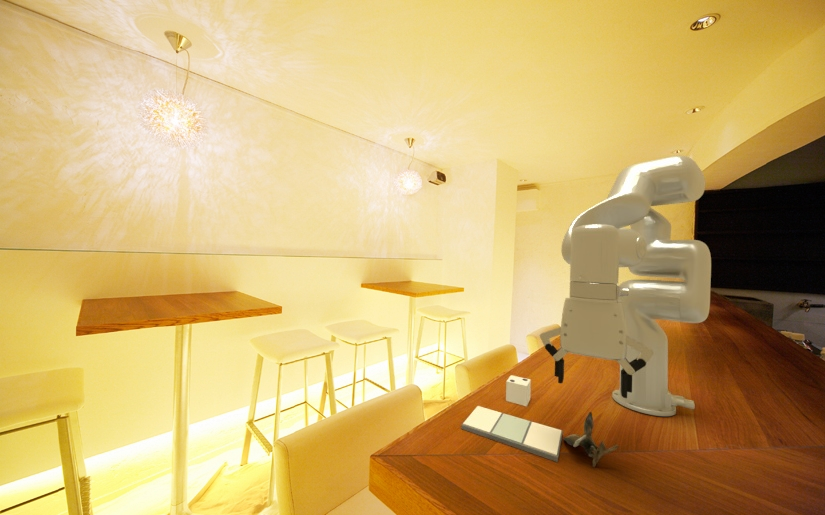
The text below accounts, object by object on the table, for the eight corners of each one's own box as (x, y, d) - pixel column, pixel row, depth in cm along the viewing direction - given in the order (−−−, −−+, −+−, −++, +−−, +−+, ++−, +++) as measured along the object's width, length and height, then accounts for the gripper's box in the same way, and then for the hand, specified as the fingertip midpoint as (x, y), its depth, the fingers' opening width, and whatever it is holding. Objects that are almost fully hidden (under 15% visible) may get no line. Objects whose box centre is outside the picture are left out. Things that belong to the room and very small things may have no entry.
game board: (562, 434, 59) (562, 429, 59) (557, 462, 51) (557, 456, 51) (477, 409, 69) (477, 404, 69) (461, 428, 60) (461, 423, 60)
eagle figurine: (630, 464, 49) (600, 425, 58) (610, 431, 48) (583, 397, 57) (588, 482, 50) (565, 441, 59) (568, 450, 49) (548, 414, 58)
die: (530, 398, 75) (530, 379, 75) (526, 406, 71) (527, 385, 71) (510, 393, 78) (510, 374, 78) (505, 401, 73) (506, 380, 74)
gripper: (650, 296, 51) (648, 393, 51) (544, 288, 61) (541, 371, 60) (658, 298, 45) (656, 410, 44) (538, 289, 54) (535, 382, 53)
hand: (590, 387), depth 52 cm, fingers open, 9 cm apart
